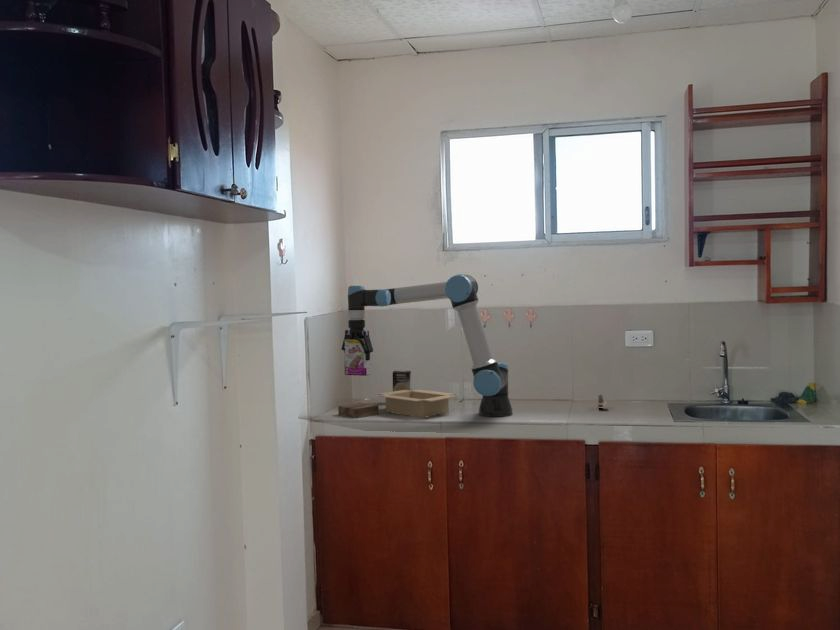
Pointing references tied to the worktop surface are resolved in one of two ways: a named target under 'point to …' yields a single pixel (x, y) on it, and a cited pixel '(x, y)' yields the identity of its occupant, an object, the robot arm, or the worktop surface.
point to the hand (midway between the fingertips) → (357, 366)
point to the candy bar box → (355, 358)
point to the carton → (417, 402)
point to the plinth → (358, 410)
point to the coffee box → (401, 380)
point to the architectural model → (600, 401)
